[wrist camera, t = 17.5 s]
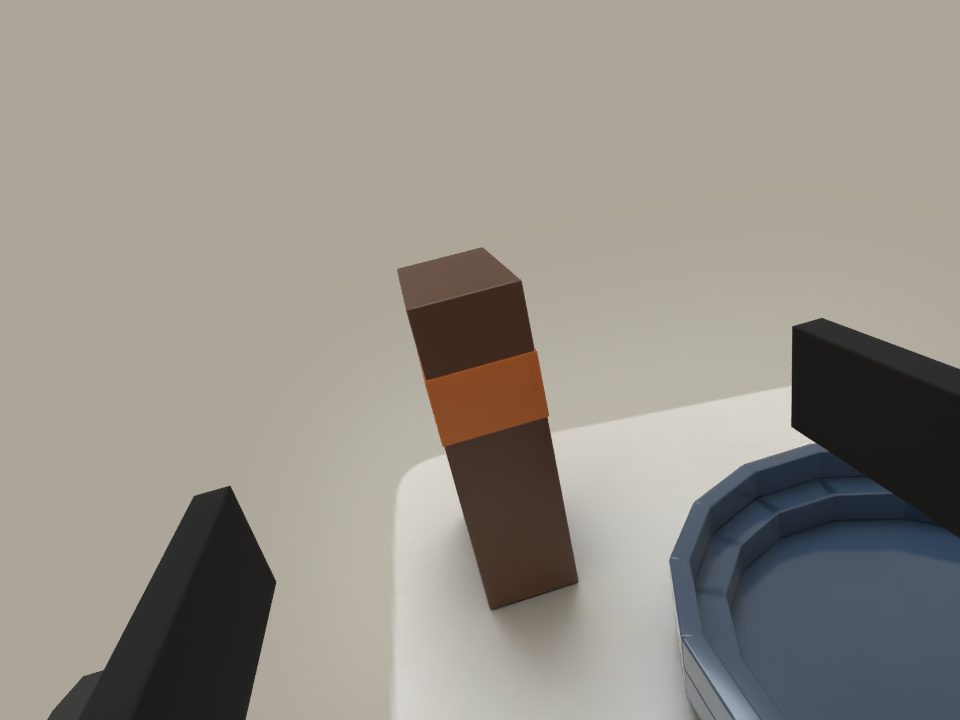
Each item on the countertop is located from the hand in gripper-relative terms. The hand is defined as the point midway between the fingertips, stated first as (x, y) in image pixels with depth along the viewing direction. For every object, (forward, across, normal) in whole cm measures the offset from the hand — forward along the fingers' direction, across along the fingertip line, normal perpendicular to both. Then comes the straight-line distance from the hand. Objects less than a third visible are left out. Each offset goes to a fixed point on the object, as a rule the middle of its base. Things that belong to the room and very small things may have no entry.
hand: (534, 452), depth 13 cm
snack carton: (+8, 0, -9) cm, 12 cm away
